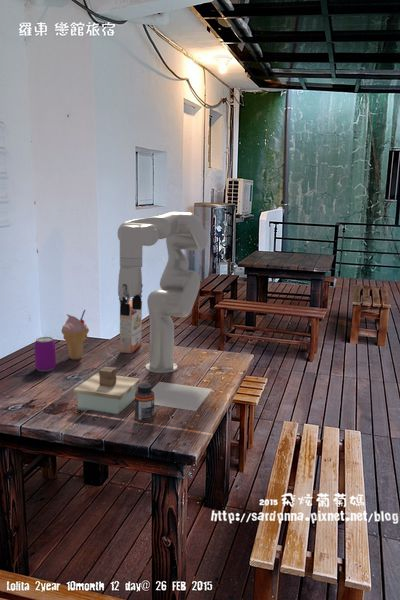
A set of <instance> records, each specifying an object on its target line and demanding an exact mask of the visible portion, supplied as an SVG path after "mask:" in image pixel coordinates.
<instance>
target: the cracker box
mask: <svg viewBox="0 0 400 600" xmlns="http://www.w3.org/2000/svg"><path fill="white" fill-rule="evenodd" d="M128 304H130V315H129V316H124V315H120V314H119V353H123V354H124V353H125V354H132V353H134V352H135V351H136V350H137V349H138V348H139V347H140V346H141V345H142V324H143V323H142V318H143V313H142V312H143V300H141V310H137V309H132V299H130V300H129V303H128Z"/></svg>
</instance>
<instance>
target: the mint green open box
mask: <svg viewBox="0 0 400 600" xmlns="http://www.w3.org/2000/svg"><path fill="white" fill-rule="evenodd" d="M136 391H137V386H135V387H134V388H133V389H132V390H131V391H130V392H128V393H127V394H126V395H125V396H124V397H123V398H121V399H120V400H119V399H112V398H105V397H99V396H92V395H85V394H78V393H77V410H78V411H83V412H84V411H85V412H86V410H88V411H93V412H98V413H99V412H101V413H107V414H111V415H112V414H113V415H119V414H120V413H121V412H123V411H124V410H125V409H126V408H127V407H128V406H129V405H130V404H132V403H133V402H135V393H136Z"/></svg>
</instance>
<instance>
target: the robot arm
mask: <svg viewBox="0 0 400 600" xmlns="http://www.w3.org/2000/svg"><path fill="white" fill-rule="evenodd" d="M117 238H118V240H119V267H120V268H119V271H118V281H117V282H118V283H117V284H118V285H117V286H118V287H117V296H118V297H119V298H118V300H119V316H120V315H124V316H129V315H130V304H128V303H129V300H132V309H137V310H141V301H142V297H143V295H142V293H143V286H144V285H143V275H142V268H143V246H145V247H152V246H154V245H156V243H157V242H158V241H159V240H164V239H165V242H166V249H167V255H168V258H167V262H166V265H165V267H164V269H163V273H162V274H161V277H160V281H159V287H160V288H161V289H156V290H153V291H151V292H150V293H149V294H148V296H147V300H146V301H147V309H148V316H149V363H146V364H145V370H147V372H151V373H155V374H169V373H172V372H173V373H174V372H176V371H177V370H178V365H177V364H176V363H175V362H174V361H175V352H174V351H175V350H174V349H175V323H174V321H173V318H172V317H176V318H187V317H188V316H189V315H190V314H191V312H192V310H193V308H194V305H195V303H196V302H195V301H196V300H197V297H198V294H199V291H200V287H201V277H200V274H199V273H198V272H196V271H195V270H192V269H191V270H190V269H188V268H189V261H188V258H187V256H186V255H185V254H184V252H183V250H185V251H186V250H187V251H203V250H204V249H205V248H206V247H207V245H208V236H207V232H206V230H205V228H204V226H203V224H202V222H201V220H200V218H199V217H198V216H197V215H196V214H194V213H193V212H184V211H183V212H182V211H181V212H180V211H171V212H170V211H169V212H166V213H163V214H161V215H158V216H157V215H156V216H150V217H144V218H136V219H131V220H128V221H124V222H123V223H121V224H120V225H119V226H118V229H117Z"/></svg>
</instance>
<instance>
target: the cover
mask: <svg viewBox="0 0 400 600" xmlns="http://www.w3.org/2000/svg"><path fill="white" fill-rule="evenodd" d="M139 384H141V378H137V377H130V376H121V375H117V368H116V367H111V366H104V367H103V368H101V369H99V372H96V373H95V374H93V375H92V376H91V377H89V378H88V379H87V380H84V381H83V382H81V383H80V384H78V386H76V387H74V388H73V394H77V395H78V394H85V395H92V396H99V397H105V398H112V399H119V400H120V399H121V398H123V397H124V396H125V395H126V394H127V393H128V392H130V391H131V390H132V389H133V388H134V387H135V386H136V387H138V385H139Z"/></svg>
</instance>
